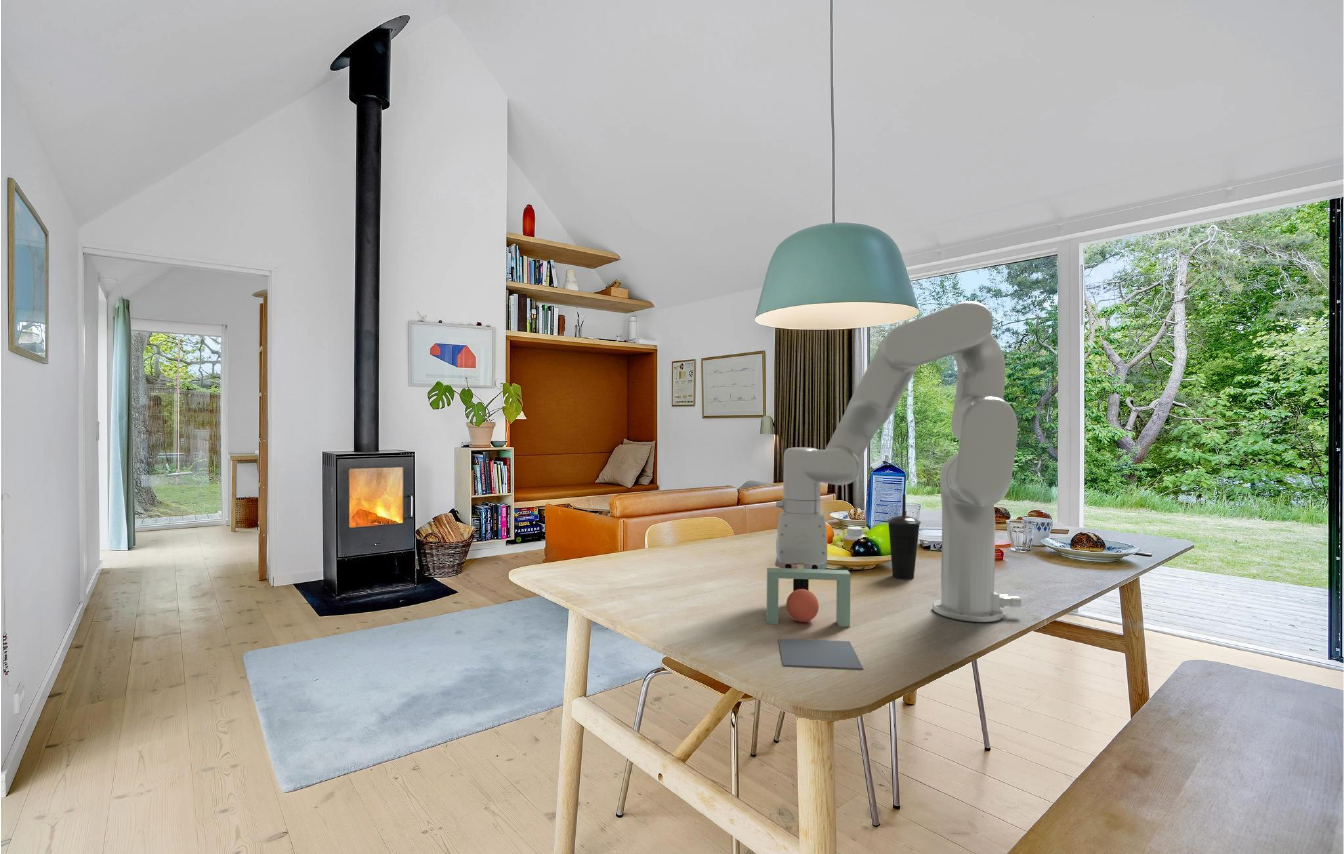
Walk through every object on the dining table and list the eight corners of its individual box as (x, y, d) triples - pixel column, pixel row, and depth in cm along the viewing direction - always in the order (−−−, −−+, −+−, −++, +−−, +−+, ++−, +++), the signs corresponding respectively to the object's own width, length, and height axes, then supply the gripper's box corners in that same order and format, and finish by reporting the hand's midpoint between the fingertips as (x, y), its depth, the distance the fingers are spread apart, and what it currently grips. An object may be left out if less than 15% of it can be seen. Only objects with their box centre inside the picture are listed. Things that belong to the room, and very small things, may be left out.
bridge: (766, 618, 123) (767, 567, 122) (847, 621, 121) (847, 570, 121) (767, 623, 120) (767, 571, 119) (850, 626, 118) (850, 573, 118)
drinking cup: (923, 575, 158) (924, 494, 157) (916, 582, 151) (917, 497, 151) (890, 571, 162) (891, 492, 161) (883, 577, 155) (883, 494, 155)
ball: (818, 628, 118) (814, 616, 124) (822, 597, 118) (818, 586, 124) (786, 624, 119) (783, 613, 125) (789, 593, 118) (786, 582, 124)
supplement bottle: (855, 570, 162) (855, 530, 162) (838, 566, 167) (839, 527, 167) (870, 568, 166) (870, 528, 165) (853, 563, 170) (853, 525, 170)
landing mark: (849, 642, 110) (849, 641, 110) (863, 669, 98) (863, 668, 98) (778, 639, 111) (778, 638, 111) (783, 665, 99) (783, 664, 99)
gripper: (765, 509, 130) (765, 599, 130) (841, 510, 129) (840, 602, 129) (764, 504, 138) (763, 590, 138) (835, 505, 136) (834, 592, 136)
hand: (800, 595), depth 133 cm, fingers closed
